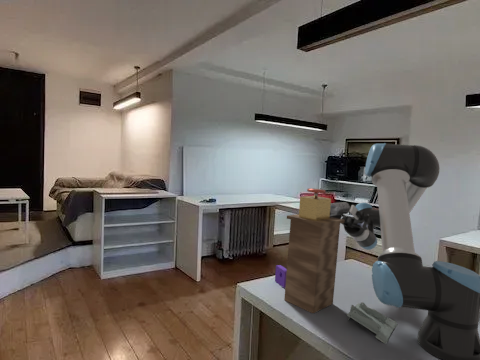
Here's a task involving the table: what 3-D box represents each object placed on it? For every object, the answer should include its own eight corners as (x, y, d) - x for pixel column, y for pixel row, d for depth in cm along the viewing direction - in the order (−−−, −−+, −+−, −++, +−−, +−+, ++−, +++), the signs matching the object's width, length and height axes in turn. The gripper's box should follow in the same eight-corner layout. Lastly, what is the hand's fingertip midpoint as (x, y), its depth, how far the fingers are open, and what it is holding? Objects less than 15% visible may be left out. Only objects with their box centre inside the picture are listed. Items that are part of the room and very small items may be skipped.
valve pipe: (335, 212, 127) (338, 187, 127) (352, 215, 122) (354, 189, 121) (298, 217, 111) (300, 188, 110) (316, 220, 106) (318, 191, 105)
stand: (304, 290, 124) (310, 212, 122) (336, 304, 114) (344, 219, 111) (280, 299, 114) (286, 215, 112) (313, 315, 104) (321, 223, 102)
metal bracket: (344, 310, 97) (359, 295, 109) (337, 326, 99) (353, 309, 111) (392, 341, 89) (403, 321, 101) (384, 357, 91) (395, 336, 103)
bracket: (283, 288, 125) (285, 271, 125) (274, 281, 131) (276, 265, 131) (309, 285, 130) (310, 268, 129) (299, 279, 136) (301, 263, 136)
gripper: (383, 244, 123) (363, 220, 109) (326, 230, 141) (302, 208, 127) (389, 226, 125) (370, 201, 111) (332, 215, 143) (309, 192, 130)
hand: (334, 205), depth 119 cm, fingers open, 13 cm apart
